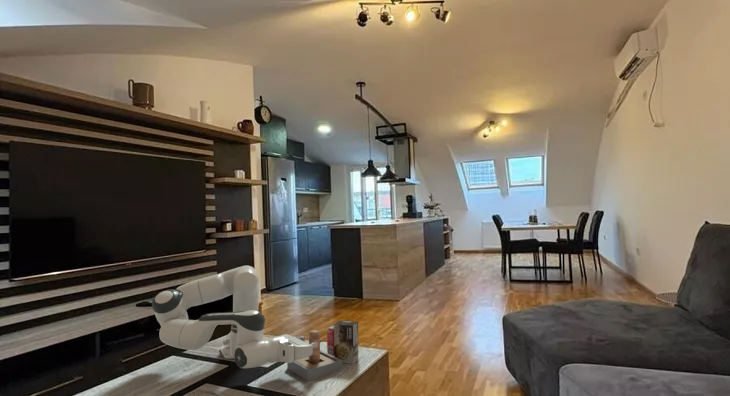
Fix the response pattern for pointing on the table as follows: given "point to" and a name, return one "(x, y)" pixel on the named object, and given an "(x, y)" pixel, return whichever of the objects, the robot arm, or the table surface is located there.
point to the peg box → (316, 366)
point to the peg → (315, 337)
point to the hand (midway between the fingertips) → (310, 341)
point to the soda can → (330, 340)
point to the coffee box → (346, 341)
